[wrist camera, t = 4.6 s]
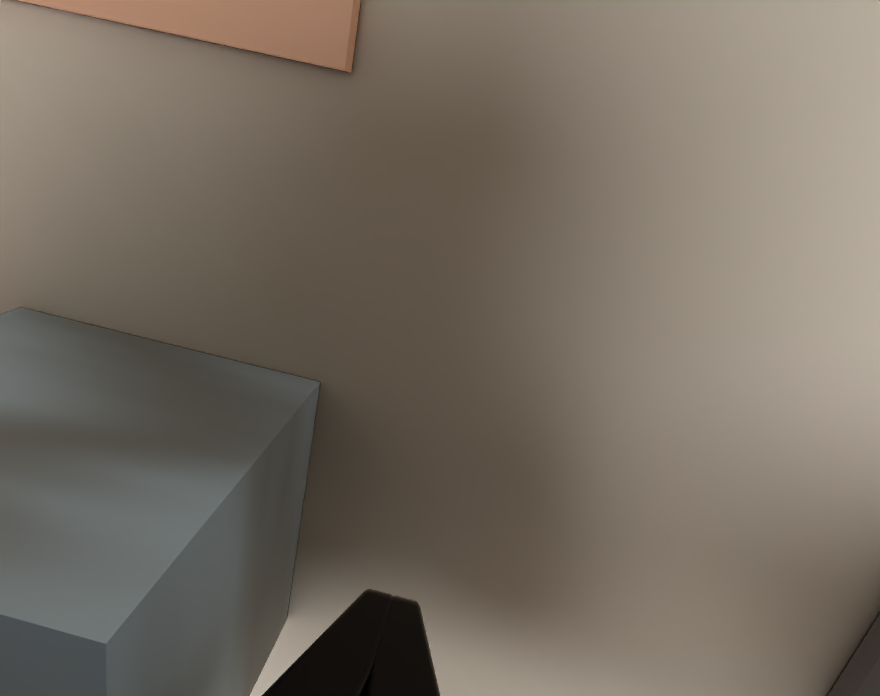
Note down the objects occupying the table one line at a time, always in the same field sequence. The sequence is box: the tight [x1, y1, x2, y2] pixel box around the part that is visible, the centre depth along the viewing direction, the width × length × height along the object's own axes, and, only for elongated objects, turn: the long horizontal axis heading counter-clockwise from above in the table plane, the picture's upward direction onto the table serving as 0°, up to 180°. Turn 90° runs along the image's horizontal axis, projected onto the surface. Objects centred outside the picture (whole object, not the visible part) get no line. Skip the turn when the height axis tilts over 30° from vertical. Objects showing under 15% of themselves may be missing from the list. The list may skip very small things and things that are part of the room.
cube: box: [0, 307, 320, 696], centre depth 8 cm, size 5×5×5 cm
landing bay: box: [17, 0, 361, 72], centre depth 10 cm, size 10×16×1 cm, turn 169°
